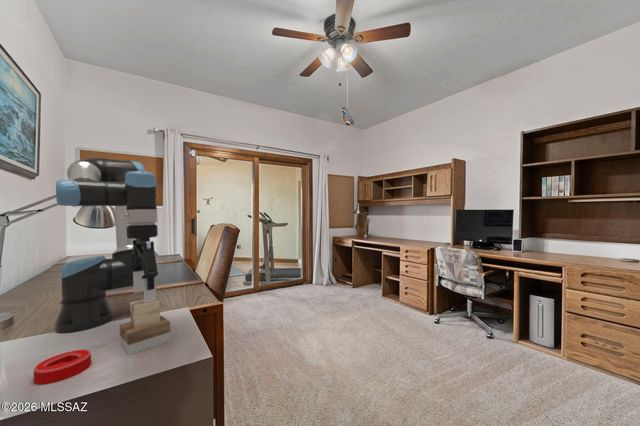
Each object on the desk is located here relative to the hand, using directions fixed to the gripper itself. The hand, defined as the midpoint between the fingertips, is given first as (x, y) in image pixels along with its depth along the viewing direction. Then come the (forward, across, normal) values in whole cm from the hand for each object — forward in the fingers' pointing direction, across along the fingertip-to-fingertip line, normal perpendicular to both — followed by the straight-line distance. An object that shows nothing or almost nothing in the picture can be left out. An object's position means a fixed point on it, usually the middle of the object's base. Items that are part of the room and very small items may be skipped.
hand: (144, 296), depth 76 cm
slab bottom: (+13, +2, 0) cm, 13 cm away
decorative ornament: (+13, +4, -17) cm, 22 cm away
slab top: (+10, +2, 0) cm, 10 cm away
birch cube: (+7, +1, 0) cm, 7 cm away
